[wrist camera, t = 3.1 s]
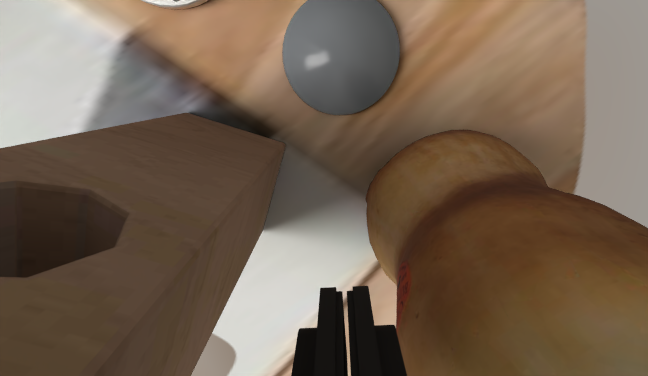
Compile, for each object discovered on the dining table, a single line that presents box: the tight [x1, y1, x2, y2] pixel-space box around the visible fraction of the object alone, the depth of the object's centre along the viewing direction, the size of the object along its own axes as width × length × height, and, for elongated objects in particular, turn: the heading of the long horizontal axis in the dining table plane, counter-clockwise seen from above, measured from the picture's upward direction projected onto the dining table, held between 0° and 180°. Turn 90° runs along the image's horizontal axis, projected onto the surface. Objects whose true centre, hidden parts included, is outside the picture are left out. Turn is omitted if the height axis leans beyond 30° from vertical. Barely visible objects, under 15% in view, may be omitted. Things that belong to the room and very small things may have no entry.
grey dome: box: [283, 0, 400, 115], centre depth 27 cm, size 10×10×1 cm
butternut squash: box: [366, 130, 648, 376], centre depth 20 cm, size 14×13×25 cm
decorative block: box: [0, 113, 286, 376], centre depth 17 cm, size 10×10×30 cm
